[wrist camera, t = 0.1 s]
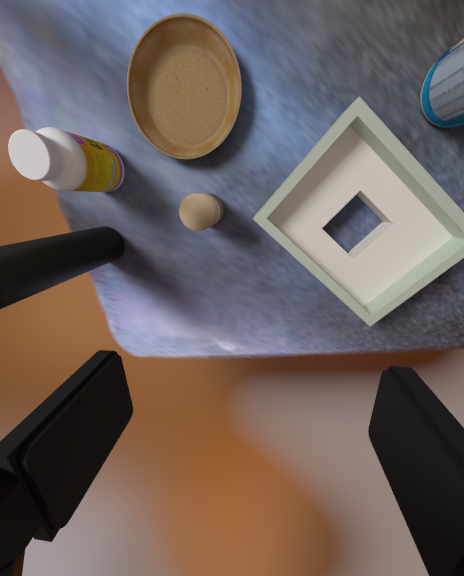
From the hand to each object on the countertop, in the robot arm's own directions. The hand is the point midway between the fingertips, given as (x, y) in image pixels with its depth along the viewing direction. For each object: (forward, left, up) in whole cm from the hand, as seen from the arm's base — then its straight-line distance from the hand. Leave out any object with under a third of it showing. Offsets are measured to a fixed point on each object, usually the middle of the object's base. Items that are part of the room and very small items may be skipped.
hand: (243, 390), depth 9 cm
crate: (-11, +8, -31) cm, 34 cm away
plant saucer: (-8, -20, -32) cm, 38 cm away
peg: (+1, -9, -31) cm, 32 cm away
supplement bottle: (+7, -25, -31) cm, 41 cm away
